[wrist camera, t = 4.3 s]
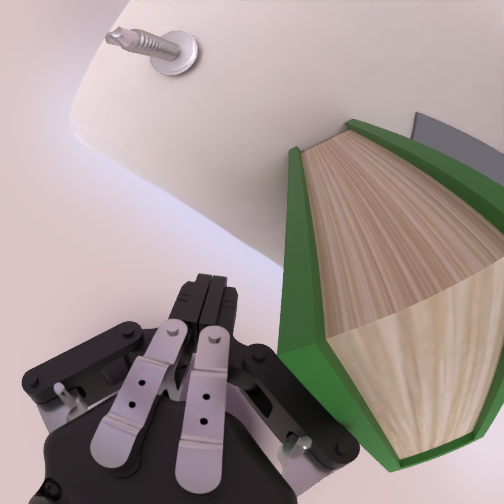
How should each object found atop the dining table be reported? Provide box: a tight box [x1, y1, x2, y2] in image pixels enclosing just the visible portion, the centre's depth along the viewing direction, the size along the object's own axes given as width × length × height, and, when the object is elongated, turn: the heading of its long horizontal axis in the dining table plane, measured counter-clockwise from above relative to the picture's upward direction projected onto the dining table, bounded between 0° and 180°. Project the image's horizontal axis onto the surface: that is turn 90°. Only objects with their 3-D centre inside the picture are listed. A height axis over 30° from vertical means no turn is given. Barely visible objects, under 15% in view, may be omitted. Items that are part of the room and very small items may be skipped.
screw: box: [105, 27, 198, 75], centre depth 16 cm, size 13×5×5 cm
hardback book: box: [277, 119, 504, 472], centre depth 18 cm, size 18×7×24 cm, turn 32°
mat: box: [411, 112, 504, 187], centre depth 28 cm, size 22×24×1 cm
